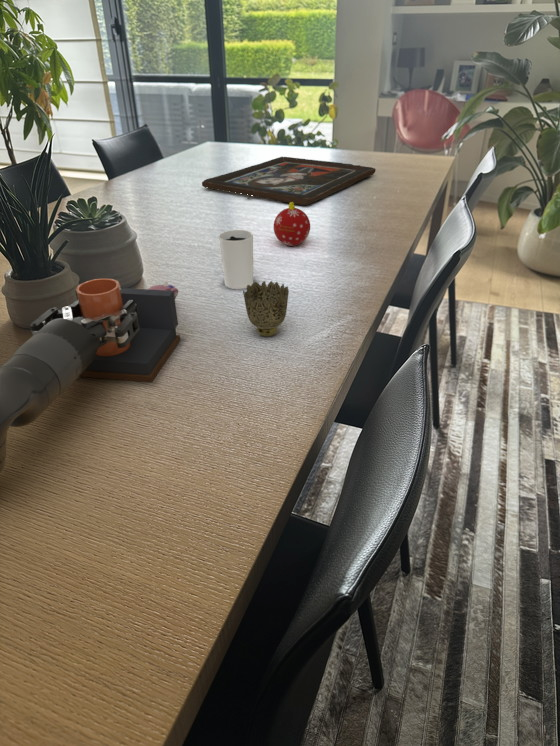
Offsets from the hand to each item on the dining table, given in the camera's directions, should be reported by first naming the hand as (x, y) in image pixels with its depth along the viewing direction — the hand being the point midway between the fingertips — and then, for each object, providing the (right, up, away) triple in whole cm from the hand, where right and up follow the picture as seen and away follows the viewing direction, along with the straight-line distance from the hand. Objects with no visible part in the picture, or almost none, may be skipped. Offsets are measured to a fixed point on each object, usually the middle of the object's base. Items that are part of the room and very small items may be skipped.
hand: (109, 304), depth 83 cm
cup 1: (0, -6, +1) cm, 6 cm away
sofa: (0, -8, +5) cm, 9 cm away
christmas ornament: (+29, +20, +47) cm, 59 cm away
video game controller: (+3, 0, +17) cm, 18 cm away
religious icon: (+30, +52, +97) cm, 114 cm away
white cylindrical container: (+18, +8, +29) cm, 34 cm away
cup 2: (+24, -4, +10) cm, 26 cm away
